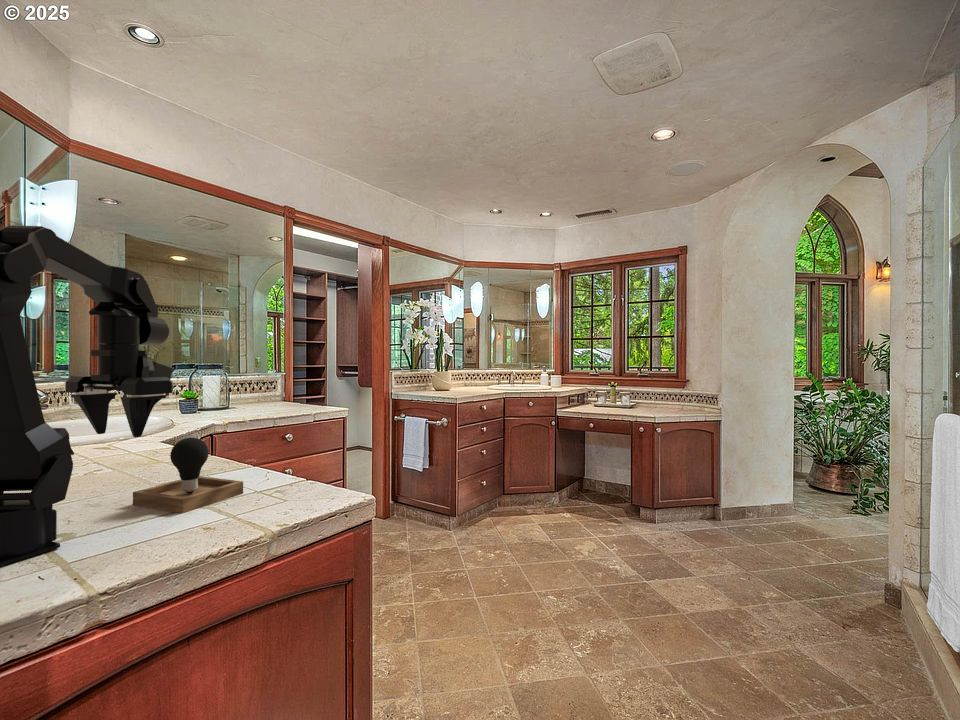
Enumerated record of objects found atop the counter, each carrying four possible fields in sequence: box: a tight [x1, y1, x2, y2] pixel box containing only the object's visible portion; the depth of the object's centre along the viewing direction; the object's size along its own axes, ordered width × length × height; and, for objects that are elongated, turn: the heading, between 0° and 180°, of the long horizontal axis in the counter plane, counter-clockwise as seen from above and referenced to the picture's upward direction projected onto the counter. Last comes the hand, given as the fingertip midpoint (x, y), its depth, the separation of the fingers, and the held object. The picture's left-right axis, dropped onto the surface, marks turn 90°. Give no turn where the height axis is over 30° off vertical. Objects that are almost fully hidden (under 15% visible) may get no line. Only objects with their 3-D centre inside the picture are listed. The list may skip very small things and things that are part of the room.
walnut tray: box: [132, 475, 244, 514], centre depth 84 cm, size 12×12×2 cm
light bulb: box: [170, 437, 210, 494], centre depth 84 cm, size 6×6×10 cm
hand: (118, 435), depth 80 cm, fingers open, 9 cm apart
